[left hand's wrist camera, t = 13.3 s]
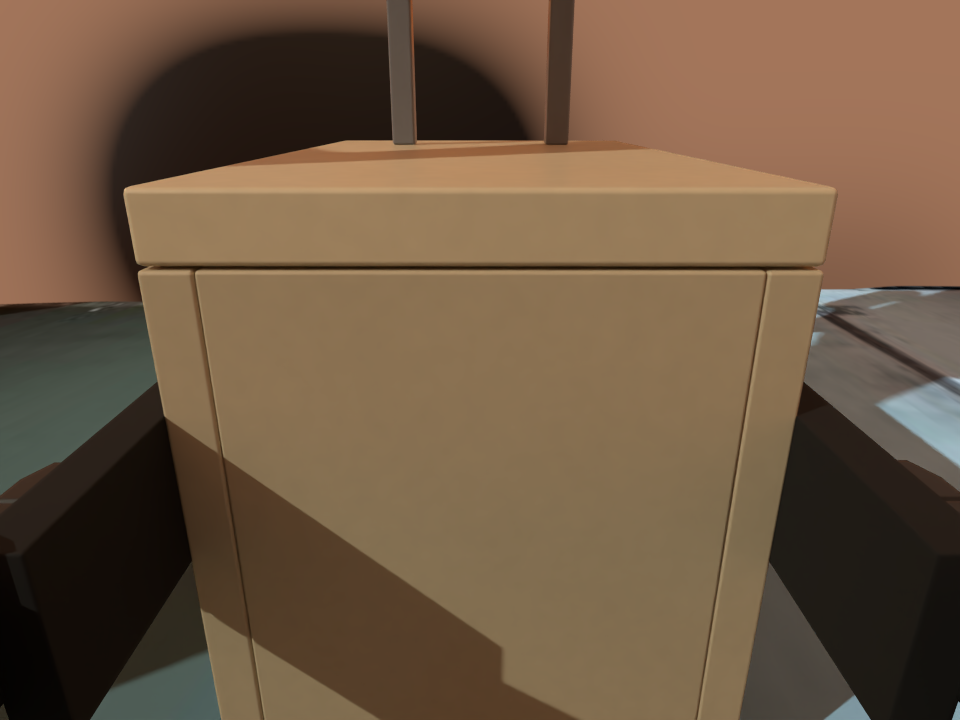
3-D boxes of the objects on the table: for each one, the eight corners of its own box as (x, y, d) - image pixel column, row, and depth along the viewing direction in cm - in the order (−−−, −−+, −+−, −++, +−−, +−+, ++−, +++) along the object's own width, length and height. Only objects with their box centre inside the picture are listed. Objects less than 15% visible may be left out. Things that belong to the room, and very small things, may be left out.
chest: (362, 441, 27) (343, 175, 23) (598, 441, 27) (617, 175, 23) (234, 797, 13) (135, 271, 9) (725, 798, 13) (826, 271, 9)
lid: (346, 172, 24) (327, -99, 21) (614, 172, 24) (633, -98, 21) (134, 267, 9) (-28, -587, 6) (827, 268, 9) (989, -586, 6)
